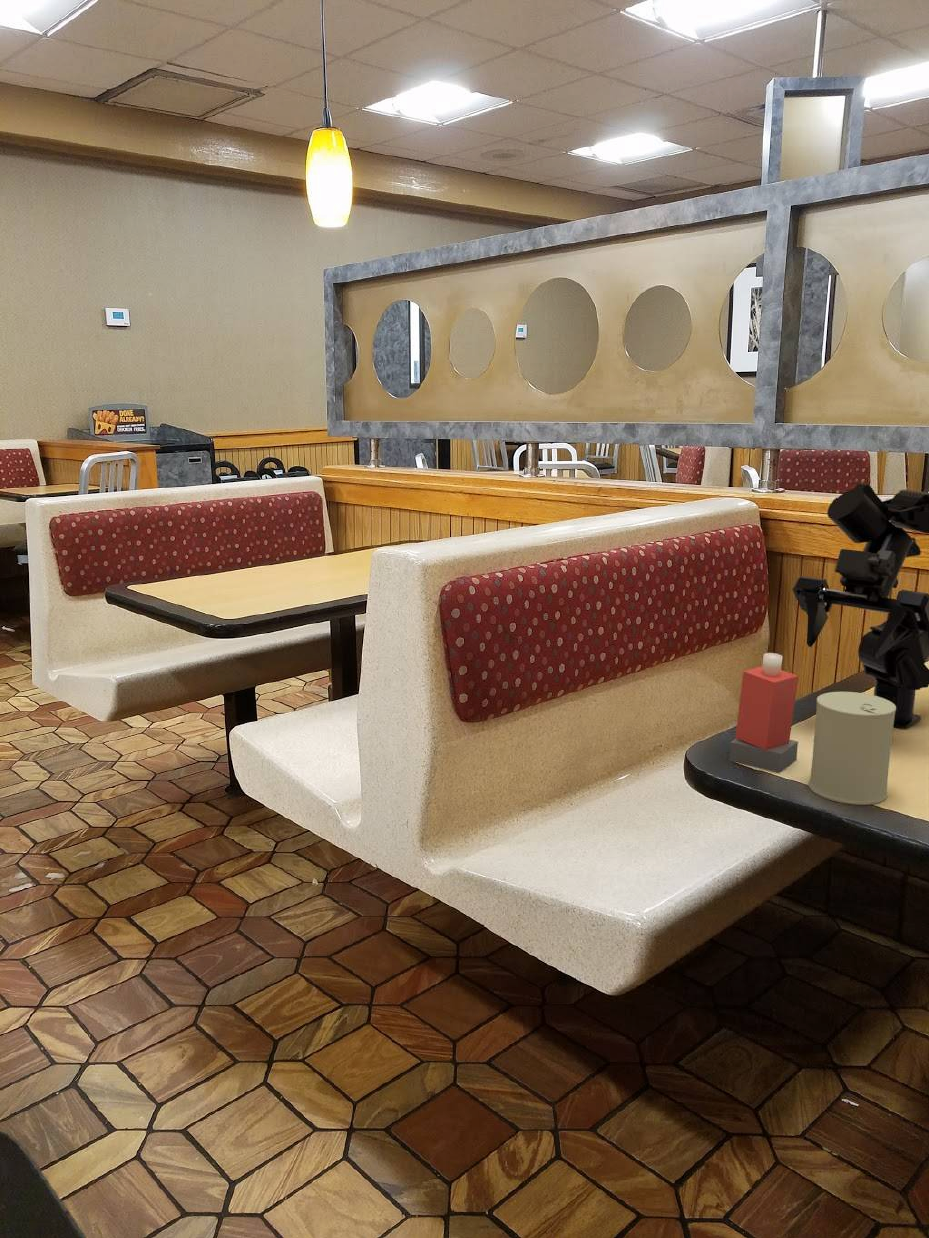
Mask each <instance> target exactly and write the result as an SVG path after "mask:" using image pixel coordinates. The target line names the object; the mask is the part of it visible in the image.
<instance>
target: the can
mask: <svg viewBox="0 0 929 1238" xmlns="http://www.w3.org/2000/svg"><path fill="white" fill-rule="evenodd" d="M815 710H816V712H815V723H814V724H815V725H814V729H815V730H814V736H813V737H814V738H813V739H814V740H813V749H812V750H813V751H812V758H811V769H810V776H809V777H810V778H809V780H808V787H809V789H810V790H811V791H812V792H813V793H814V794H816V795H818V796H819V797H821V798H823V799H826V800H828V801H832V802H836V803H841V804H845V805H847V804H848V805H854V806H855V805H857V806H858V805H859V806H867V805H876V804H879V803H882V802H884V801H885V800H886V799H887V798H888V779H889V778H888V777H889V770H890V769H889V768H890V757H891V750H892V739H893V731H894V726H893V725H894V717H895V711H896V706H895V705H894V704H893V703H892V702H890V701H889V700H886V699H884V698H881V697H878V696H874V694H868V693H864V692H863V693H862V692H856V691H854V692H853V691H831V692H824V693H822V694H820V695H818V696H817V697H816V709H815Z"/></svg>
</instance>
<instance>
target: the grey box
mask: <svg viewBox="0 0 929 1238" xmlns="http://www.w3.org/2000/svg"><path fill="white" fill-rule="evenodd" d="M798 747H799V741H798V740H793V739H790V740H789V743H786V744H783V745H780V746H777V747H774V748H771V749H768V750H763V749H761V748H759V747H757V746H754V745H752V744H750V743H747V742H745V741H743V740H740V739H738V738H736V737H735V738H734V739H733V740H732V741H730V745H729V757H728V761H729V762H733V763H737V764H740V765H744V766H750V767H753V768H758V769H762V770H766V771H770V772H773V773H778V774H781V772H782V773H783V771H785V770H786V769H787V768H788V767H789V766H791V765H792V764H793V763H795V762H796V761H797V760H798V759H797V757H798Z"/></svg>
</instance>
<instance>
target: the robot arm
mask: <svg viewBox="0 0 929 1238" xmlns="http://www.w3.org/2000/svg"><path fill="white" fill-rule="evenodd" d="M826 515H827V517H828V518H829V519H830V520H831V522H833V524H835V525H836V526H837V528H838V529H839V530H841V532H842V533H844V535H845V536H846V537H848V539H850V541H851V542H852V543H855V544H862V543H865V544H864V547H863V549H862V550H857V549H856V550H855V549H849V548H847V549H845V548H841V549H840V550H839V553H838V557H837V560H836V564H835V568H834V572H835V573H836V574H837V573H838V574H839V575H840V576H841V577H840V579H839V583H840V585H841V586H843V587H845V589H844V590H839V589H832V588H830V587H829V584H828V582H827V580H826V578H820V577H810V576H805V575H803V576H800V577H798V578H797V579H796V581H795V583H794V584H793V587H792V588H791V590H792V592H793V594H794V596H795V598H796V600H797V602H798V605H799V607H800V609H801V610H802V611H804V612H806V615H807V628H806V629H807V630H806V631H807V633H806V644H807V647H809V648H811V647H813V645H814V644H815V643H816V642H817V640H818V638H819V636H820V634H821V632H822V630H823V628H824V626H826V625H825V624H826V623H827V621H828V620H829V616H828V614H827V613H828V612H830V611H831V609H832V607H833V605H838V606H843V607H844V606H845V607H850V608H851V607H852V608H858V610H859V609H860V610H864V611H865V610H866V611H873V612H880V613H884V614H885V613H886V614H888V618H887V620H885V621H884V622H882V623H881V624H878V625H876V626H870V627H869V629H870V630H869V631H868V632H867V633H865V634H864V635H863V636H862V637H861V641H860V643H859V646H858V650H857V652H858V658H859V660H860V663H862V667H863V670H864V674H865V675H868V676H872V677H873V678H875V679H874V687H873V689H874V690H873V695H874V696H878V697H881V698H884V699H886V700H889V701H890V702H892V703H893V704H894V705H895V706H896V711H895V717H894V725H893V727H896V728H901V729H907V728H909V727H910V726H912V725H914V724H916V723H917V722H919V721H921V719H922V716H921V715H919V714H915V713H914V708H915V700H916V691H920V690H921V689H923V688H925V689H926V688H928V687H929V668H928V666H927V665H926V662H927V660H928V658H929V593H927V592H921V591H913V590H906V589H901V590H898V593H897V595H896V598H889V597H890V595H891V592H892V589H897V587H898V585H899V580H898V576H899V573H900V571H901V570H902V567H903V566H904V562H905V560H906V558H912V557H916V556H917V557H918V556H921V554H922V552H921V548H920V546H919V545H918V544H917V541H916V537H911V536H910V535H909V534H908V532H907V530H908V531H911V532H912V531H913V532H919V533H922V534H923V533H924V534H929V492H926V491H919V490H911V489H900V490H899V492H897V493H896V494H894V496H893V497H891V498H889V499H886V500H881V498H880V497H879V496H878V495H877V494H876V492H875V490H874V489H873V488H872V486H870V484H868V483H859V482H858V483H857V485H856V486H855V487H854V488H852V489H849V490H846V491H845V492H843V493H842V494H840V495H839V496H838V497H835V498H834V499H833V500H832V501H831V503H830V505H829V506H828V509H827V514H826Z"/></svg>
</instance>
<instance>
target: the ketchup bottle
mask: <svg viewBox="0 0 929 1238" xmlns="http://www.w3.org/2000/svg"><path fill="white" fill-rule="evenodd" d="M782 664H783V655H781V654H779V653H776V652H775V653H774V652H765V653H763V657H762V665H761V666H759V667H754V668H751V669H747V670H743V671H742V678H741V679H742V680H741V688H740V695H739V703H738V713H737V721H736V727H735V734H734V736H735V739H736V738H738V739H740V740H743V741H745V742H747V743H750V744H752V745H754V746H757V747H759V748H761V749H763V750H768V749H771V748H774V747H777V746H780V745H783V744H786V743H789V740H791V739H790V738H791V732H792V731H791V730H792V725H793V718H794V711H795V705H796V698H797V697H796V696H797V690H798V689H797V688H798V683H799V675H797V674H794V673H791V672H788V671H784V670H782Z"/></svg>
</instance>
